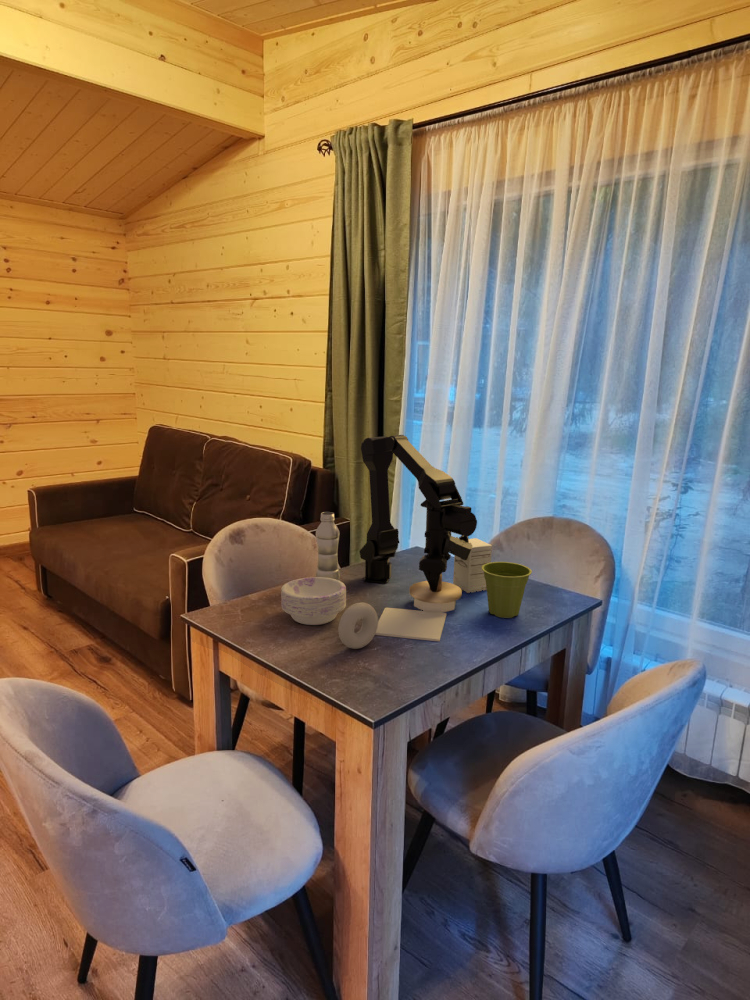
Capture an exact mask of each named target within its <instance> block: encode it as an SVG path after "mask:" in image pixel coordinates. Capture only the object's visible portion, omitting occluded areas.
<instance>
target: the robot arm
mask: <svg viewBox="0 0 750 1000" xmlns="http://www.w3.org/2000/svg"><path fill="white" fill-rule="evenodd" d="M360 450H361V457H362V462H363V463H364V465H365V467H366V468H367V469H368V471H369V472H368V473H369V489H370V492H369V493H370V510H371V511H370V512H371V524H370V527H369V528H368V531H367V533H366V542H365V543H364V545H363V546H362V547H361V548H360V550H359V556H360V559H361V560H364V561H365V563H364V564H365V567H364V570H365V571H364V573H365V574H364V575H365V576H364V578H363V582H365V583H366V582H369V583H379V584H387V582H388V581H390V579H391V578H392V562H390V560H391V559H390V558H395V556H396V554H397V553H396V552H397V550H398V548H399V544H400V539H399V529H398V528H395V527H394V525H393V524H392V522H391V512H390V510H391V509H390V491H389V489H390V488H389V474H388V473H389V468H390V466H391V464H392V462H393V459H394V456H395V457H396V458H397V459H398V460H399V462H401V463H402V464H403V466H405V468H406V469H407V470H408V471H409V472H410V473H411V474H412V475H413V476H414V478H415V479H416V480H417V483H418V489H419V490H420V493H422V495H423V497H424V498H425V500H424V501H423V502H421V503H420V507H422V508H425V509H426V516H425V518H426V521H425V532H424V538H425V543H424V545H425V547H424V549H423V553H424V555H422V557H421V558H420V560H419V562H418V570H419V571H422V572H423V574H424V576H425V578H426V581H428V584H429V586H430V588H431V591H432V592H436V591H437V587H438V583H439V578H440V574H442V575H443V573H446V571H447V569H448V568H447V567H448V561H449V560H450V559H451V556H452V555H455V556H457V557H460V558H461V559H462V560H467V558H468V556H469V554H470V552H471V549H472V544H471V543H469V539H470V538H469V537H470V536H472V535H473V534H474V532H476V529H477V525H478V520H477V517H476V515H475V513H473V512H472V507H471V506H467V505H466V506H464V501H463V499H462V496H461V495H460V493H459V490H458V488H457V486H456V482H455V480H454V478H453V477H452V476H451V475H449V474H448V473H446V472H445V471H443V470H441V469H438V468H436V467H434V466H433V465H431V463H430V462H429V461H428V460H427V459H426V458H425V457H424V456H423V455H422V454H421V452H419V450H417V449H416V447H415V446H414V445H413V444H412V443H411V442H410V441H409V438H408V437H407V436H406V435H404V434H395V435H394V434H393V435H390V436H376V437H374V436H373V437H367V438H365V439H364V440H363V442H361V446H360ZM452 533H453V534H457V535H460V536H456V537H455V536H453V535H452Z"/></svg>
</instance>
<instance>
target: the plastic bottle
mask: <svg viewBox="0 0 750 1000" xmlns="http://www.w3.org/2000/svg"><path fill="white" fill-rule="evenodd" d="M335 519H336V518H335V512H330V511H323V512H321V513H320V521H321V522H320V523H319V525H318V526H317V528H316V530H315V538H316V545H317V546H316V547H317V566H316V567H317V568H316V573H315V577H324V578H331V579H336V580H339V581H340V573H341V572H340V569H339V561H338V549H339V541H340V530H339V528H338V525H336V524H335Z"/></svg>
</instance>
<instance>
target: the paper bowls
mask: <svg viewBox="0 0 750 1000" xmlns="http://www.w3.org/2000/svg"><path fill="white" fill-rule="evenodd" d="M280 592H281V593H280V595H281V596H280V597H281V598H280V600H281V603H280V605H281V609H282V611H283V612H285V613H286V614H288V615H290V616H291V618H292V619H293V621H295V622H296V623H300V624H302V625H306V626H309V625H310V626H318V625H324V624H327V623H330V622H332V621H333V620H335V618H336V617H337V615H338V613H341V612H342V611H344V610H345V608H346V607H347V585H345V583H344V582H342V581H341V580H340V579H339V580H336V579H331V578H324V577H316V576H314V577H313V576H311V577H301V578H297V579H293V580H290V581H288V582H286V583H284V584H283V585H282V586H281V589H280Z"/></svg>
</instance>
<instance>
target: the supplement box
mask: <svg viewBox="0 0 750 1000" xmlns="http://www.w3.org/2000/svg"><path fill="white" fill-rule="evenodd" d="M469 543H471V544H472V549H471V552H470V554H469V556H468V558H467V560H462V559H461V558H460V557H457V556H455V555H454V556H453V558H454V561H453V574H452V575H453V578H452V579H453V580H452V582H453V583H452V584H454V585H457V586H458V587H460V588H461V590H462V591H465V592H466V593H467V594H469V593H470V592H471V593H476V591H477V592H482V590H483V591H487V588H486V580H485V577H484V571H483V570H482V566H483V565H484V564H487V563H491V562H492V549H493V546H492V544H490V543H487V542H485V541H484V540H481V539H479V538H477V537H475V538H469Z"/></svg>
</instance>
